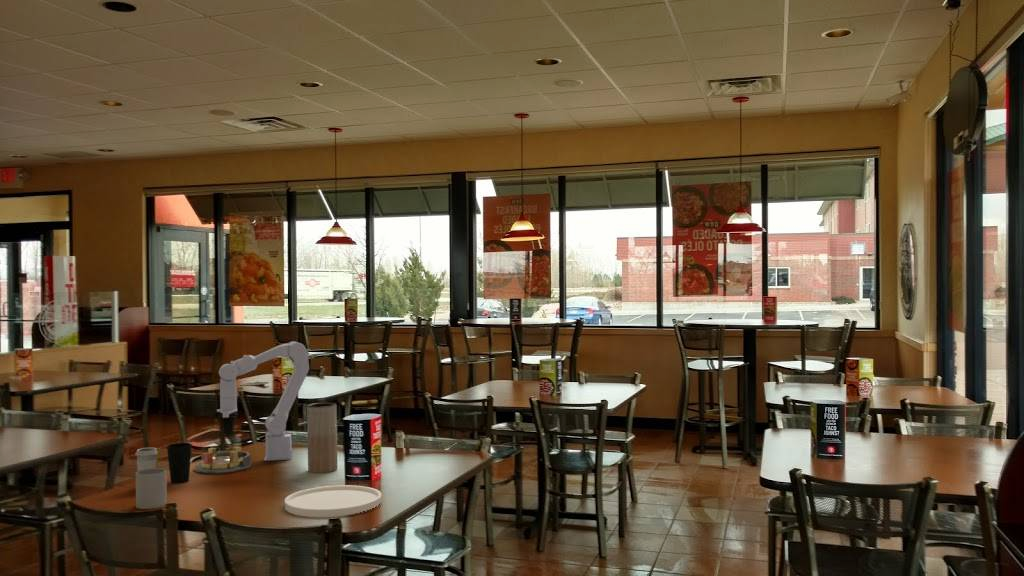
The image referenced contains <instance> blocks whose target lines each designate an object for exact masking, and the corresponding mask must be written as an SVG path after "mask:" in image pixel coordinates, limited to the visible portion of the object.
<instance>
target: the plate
mask: <svg viewBox="0 0 1024 576" xmlns="http://www.w3.org/2000/svg"><path fill="white" fill-rule="evenodd" d="M381 501H382V502H383V494H382V492H381V491H380V490H378V489H376V488H373V487H369V486H364V485H350V484H347V485H345V484H342V485H341V484H340V485H326V486H317V487H312V488H308V489H307V488H306V489H302V490H299V491H295V492H293V493H291V494H289V495H287V496H286V497H285V498H284V510H285V511H287V512H288V513H289V514H293V515H296V516H301V517H307V518H308V517H311V518H333V517H343V516H351V515H356V513H357V514H361V513H364V512H363V511H365V512H368V511H367V510H369V511H371V510H373V509H372V508H374V509H376V508H377V507H379V506H380V505H381V504H382V502H381ZM380 503H381V504H380ZM379 504H380V505H379ZM378 505H379V506H378ZM376 506H377V507H376ZM375 507H376V508H375ZM370 509H371V510H370ZM360 512H361V513H360Z"/></svg>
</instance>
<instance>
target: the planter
mask: <svg viewBox="0 0 1024 576" xmlns="http://www.w3.org/2000/svg"><path fill="white" fill-rule="evenodd" d="M337 405H338V404H336V403H334V402H317V403H310V404H308V405H306V410H307V411H306V415H307V416H306V417H307V418H306V419H307V420H306V421H307V422H306V423H307V469H308V472H310V473H314V474H315V473H316V474H325V473H331V472H335V471H336V470H337V469H338V416H337V413H338V411H337V410H338V409H337Z"/></svg>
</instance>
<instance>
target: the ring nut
mask: <svg viewBox="0 0 1024 576" xmlns="http://www.w3.org/2000/svg"><path fill="white" fill-rule="evenodd" d="M207 451H208V452H204V453H203V454H204V460H202V459H201V461H200V462H199V464H200V467H201V468H206V469H227V468H233V467H238V466H242V465H243V457H241V451H242V446H234V447H232V450H231V451H232V452H229V453H230V456H219V457H217V452H218V451H217V447H210V448H209V447H208V449H207ZM223 457H230V462H225V463H213V459H216V458H223Z"/></svg>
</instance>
